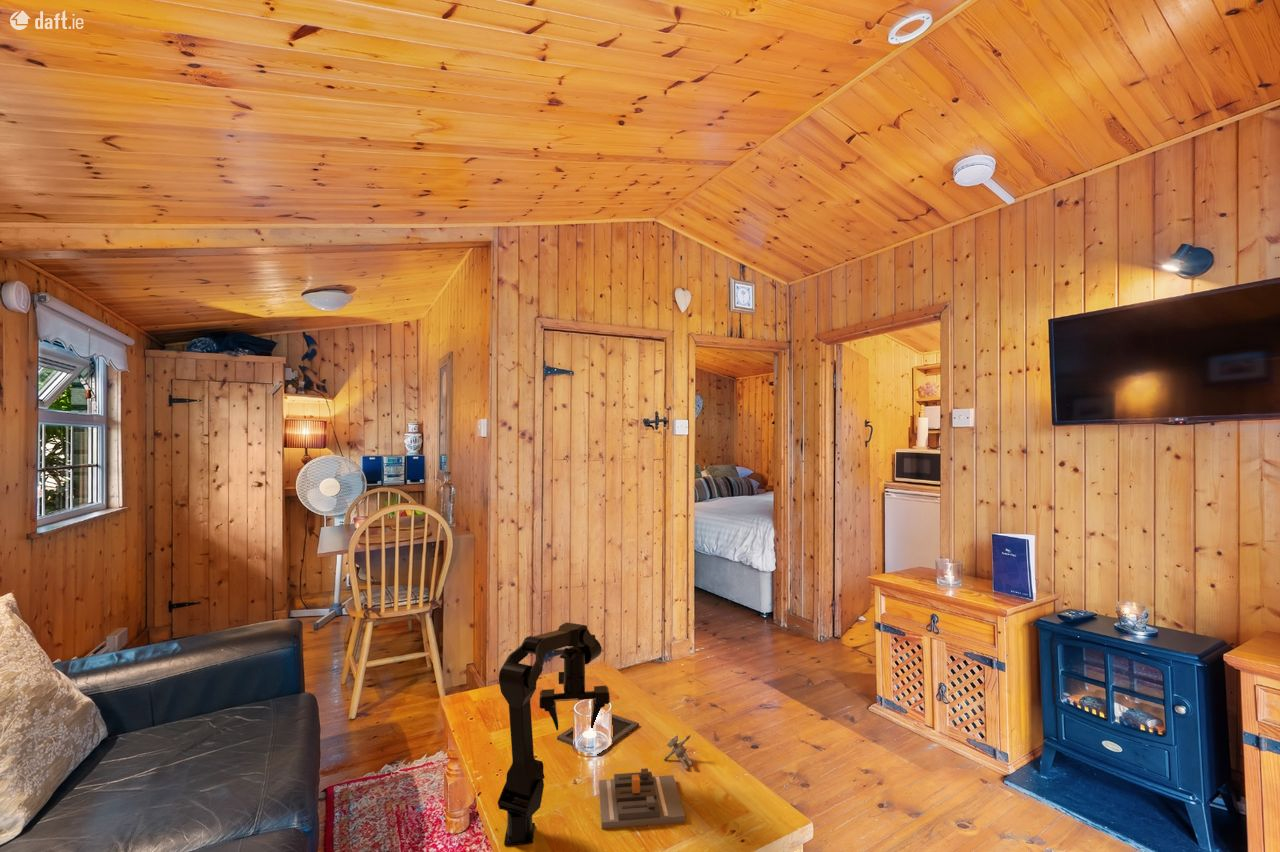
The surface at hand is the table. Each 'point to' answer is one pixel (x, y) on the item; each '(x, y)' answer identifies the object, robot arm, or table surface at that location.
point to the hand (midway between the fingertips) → (574, 728)
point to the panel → (642, 822)
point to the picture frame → (619, 730)
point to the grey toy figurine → (679, 751)
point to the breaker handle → (635, 784)
